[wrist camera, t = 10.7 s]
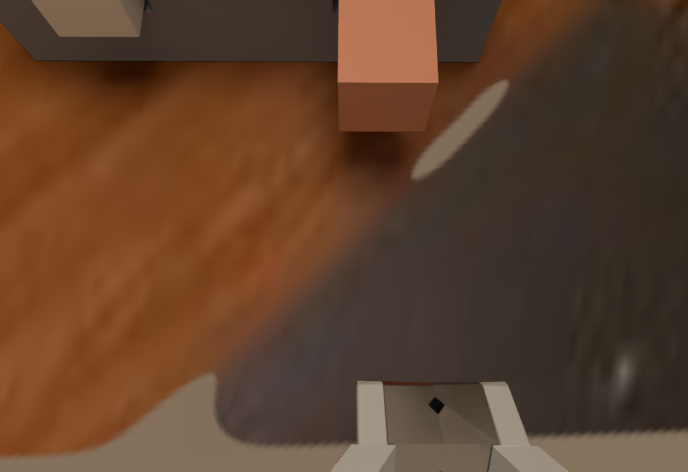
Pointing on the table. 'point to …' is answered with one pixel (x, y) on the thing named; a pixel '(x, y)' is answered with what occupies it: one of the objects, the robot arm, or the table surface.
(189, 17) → the block
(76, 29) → the beige plug
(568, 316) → the table surface
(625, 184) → the table surface
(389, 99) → the rust plug
